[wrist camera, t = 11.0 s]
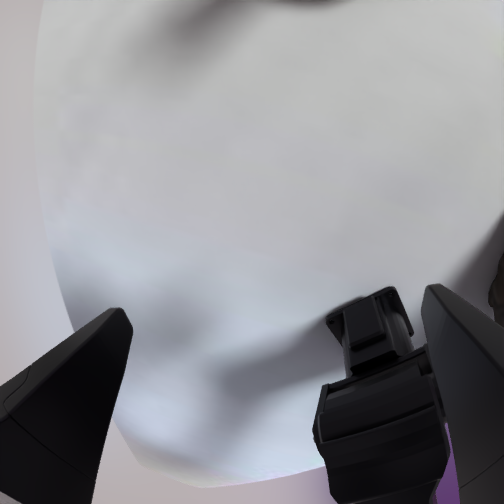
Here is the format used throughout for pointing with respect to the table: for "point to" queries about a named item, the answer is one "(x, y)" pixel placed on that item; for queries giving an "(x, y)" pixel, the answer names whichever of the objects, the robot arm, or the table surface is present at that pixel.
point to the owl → (498, 294)
